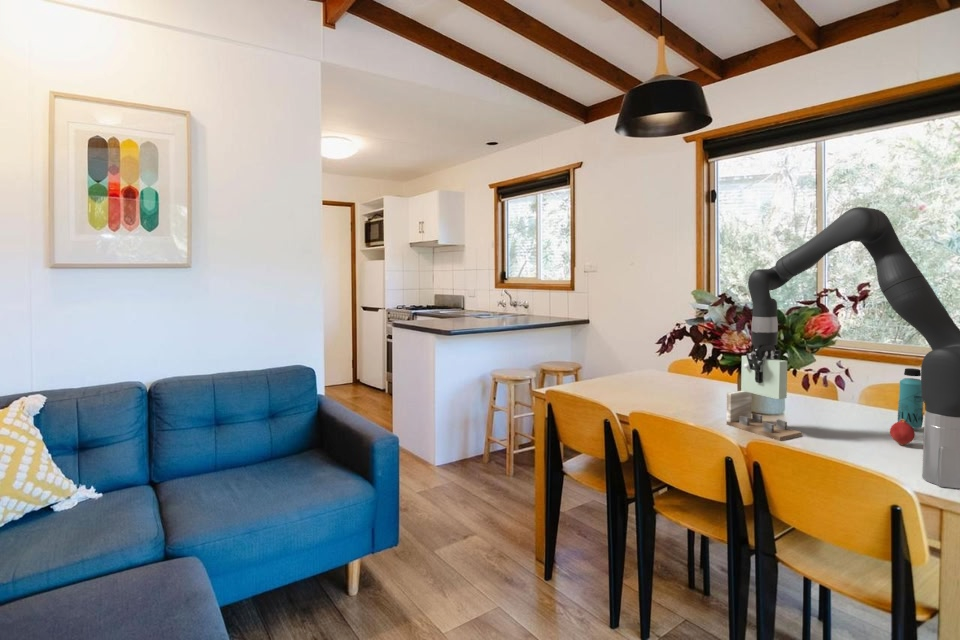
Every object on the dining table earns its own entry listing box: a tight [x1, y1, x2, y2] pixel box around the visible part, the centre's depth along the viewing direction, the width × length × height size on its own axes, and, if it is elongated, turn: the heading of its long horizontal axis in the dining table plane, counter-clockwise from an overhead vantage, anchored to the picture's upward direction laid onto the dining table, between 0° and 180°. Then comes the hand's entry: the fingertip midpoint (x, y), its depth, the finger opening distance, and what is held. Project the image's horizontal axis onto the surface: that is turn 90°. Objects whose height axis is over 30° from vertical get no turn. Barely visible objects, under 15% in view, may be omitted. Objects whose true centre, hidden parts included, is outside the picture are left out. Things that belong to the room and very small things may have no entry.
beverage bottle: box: [896, 367, 925, 429], centre depth 167 cm, size 6×7×20 cm
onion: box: [889, 419, 916, 446], centre depth 153 cm, size 6×6×8 cm
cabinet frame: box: [726, 390, 803, 441], centre depth 171 cm, size 20×10×11 cm, turn 23°
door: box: [740, 355, 788, 400], centre depth 169 cm, size 14×4×12 cm, turn 23°
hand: (763, 381), depth 170 cm, fingers closed on door, 3 cm apart
